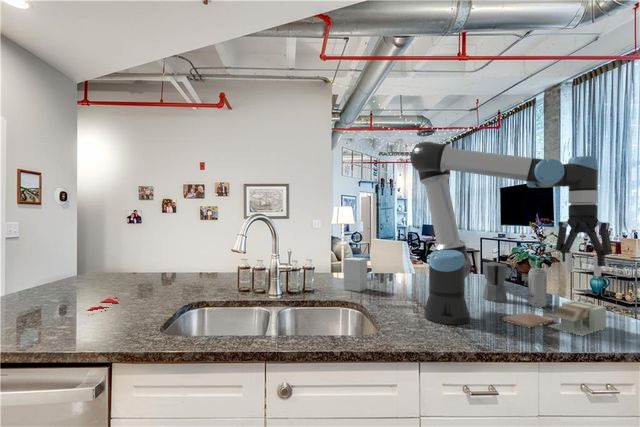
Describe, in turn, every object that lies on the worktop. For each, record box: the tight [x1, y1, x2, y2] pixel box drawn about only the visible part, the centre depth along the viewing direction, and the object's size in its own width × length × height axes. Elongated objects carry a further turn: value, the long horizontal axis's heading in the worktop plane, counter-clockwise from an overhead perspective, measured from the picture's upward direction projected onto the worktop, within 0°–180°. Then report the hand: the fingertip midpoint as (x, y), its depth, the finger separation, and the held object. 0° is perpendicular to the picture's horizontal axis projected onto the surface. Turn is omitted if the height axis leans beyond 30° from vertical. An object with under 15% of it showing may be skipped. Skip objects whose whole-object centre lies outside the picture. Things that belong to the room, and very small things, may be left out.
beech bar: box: [554, 303, 593, 321], centre depth 109 cm, size 12×5×3 cm, turn 118°
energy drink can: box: [527, 267, 547, 308], centre depth 136 cm, size 6×6×15 cm
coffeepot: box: [482, 257, 508, 303], centre depth 145 cm, size 15×9×18 cm, turn 156°
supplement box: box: [343, 256, 368, 293], centre depth 166 cm, size 9×9×15 cm
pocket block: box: [548, 300, 607, 337], centre depth 110 cm, size 15×9×7 cm, turn 118°
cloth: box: [86, 296, 119, 311], centre depth 135 cm, size 26×14×2 cm, turn 177°
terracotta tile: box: [502, 311, 555, 328], centre depth 117 cm, size 14×9×1 cm, turn 118°
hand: (582, 274), depth 111 cm, fingers open, 8 cm apart
